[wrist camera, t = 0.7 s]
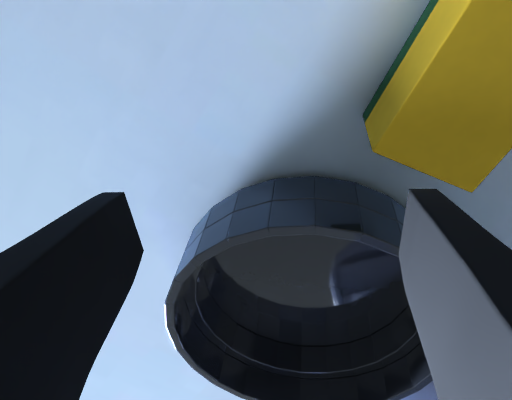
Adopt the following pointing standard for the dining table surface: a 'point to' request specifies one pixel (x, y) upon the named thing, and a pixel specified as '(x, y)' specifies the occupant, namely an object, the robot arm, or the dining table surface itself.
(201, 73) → the dining table surface
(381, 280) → the bowl
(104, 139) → the dining table surface
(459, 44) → the sponge
